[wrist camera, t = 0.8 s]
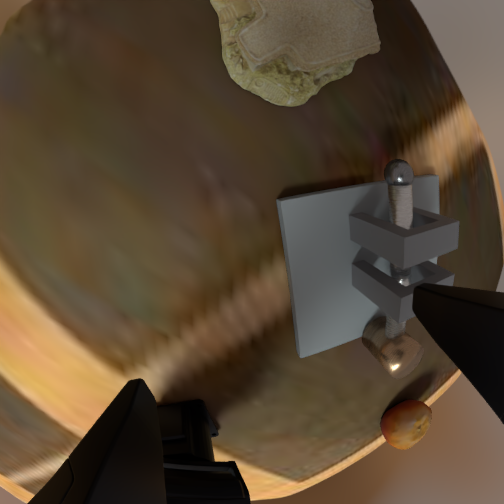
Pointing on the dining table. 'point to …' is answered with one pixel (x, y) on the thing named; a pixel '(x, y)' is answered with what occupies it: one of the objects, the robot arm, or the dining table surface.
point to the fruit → (406, 423)
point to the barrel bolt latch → (358, 258)
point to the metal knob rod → (385, 328)
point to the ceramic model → (293, 44)
